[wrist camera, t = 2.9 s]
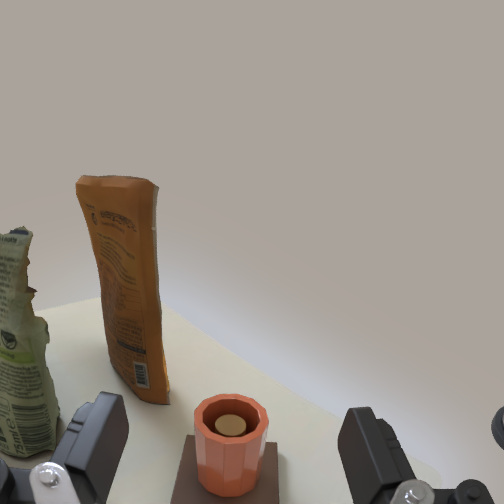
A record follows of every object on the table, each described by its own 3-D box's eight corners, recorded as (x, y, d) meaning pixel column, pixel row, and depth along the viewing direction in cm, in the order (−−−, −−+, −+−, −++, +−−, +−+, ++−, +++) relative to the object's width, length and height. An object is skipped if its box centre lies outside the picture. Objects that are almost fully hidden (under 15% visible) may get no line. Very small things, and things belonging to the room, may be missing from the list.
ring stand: (275, 449, 32) (287, 391, 29) (277, 521, 22) (294, 473, 19) (187, 442, 32) (183, 382, 29) (171, 511, 22) (158, 460, 19)
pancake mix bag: (146, 424, 33) (125, 180, 25) (89, 350, 46) (73, 172, 38) (190, 404, 38) (189, 177, 30) (124, 340, 51) (116, 169, 43)
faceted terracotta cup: (266, 463, 28) (277, 405, 26) (244, 505, 23) (251, 453, 20) (214, 445, 30) (214, 386, 28) (187, 482, 25) (180, 426, 22)
